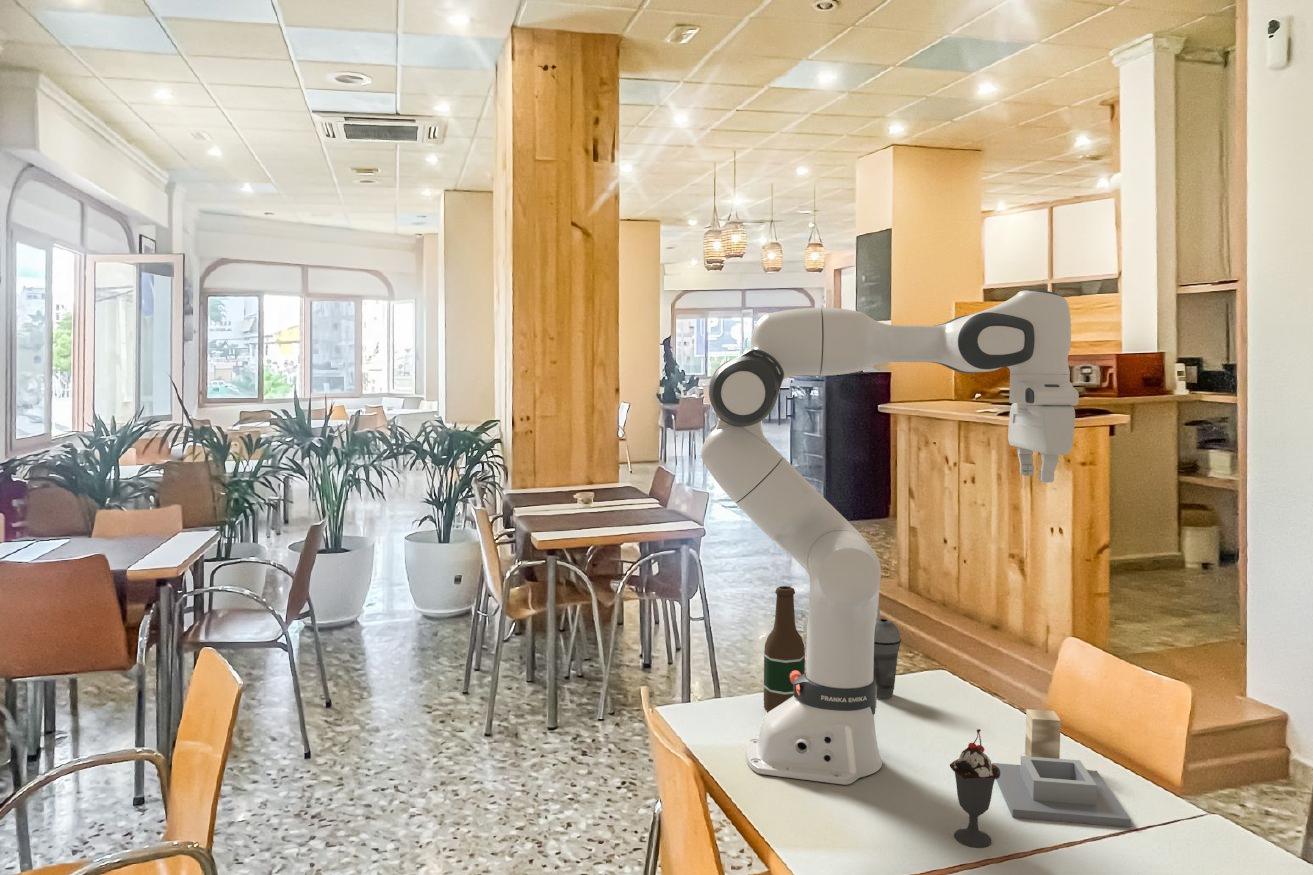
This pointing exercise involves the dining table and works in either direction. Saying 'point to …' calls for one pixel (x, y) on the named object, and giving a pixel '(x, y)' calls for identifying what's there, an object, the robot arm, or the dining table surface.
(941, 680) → the dining table surface
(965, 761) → the sundae
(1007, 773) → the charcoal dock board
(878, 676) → the beverage cup
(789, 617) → the beer bottle
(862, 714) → the robot arm
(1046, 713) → the wooden block
